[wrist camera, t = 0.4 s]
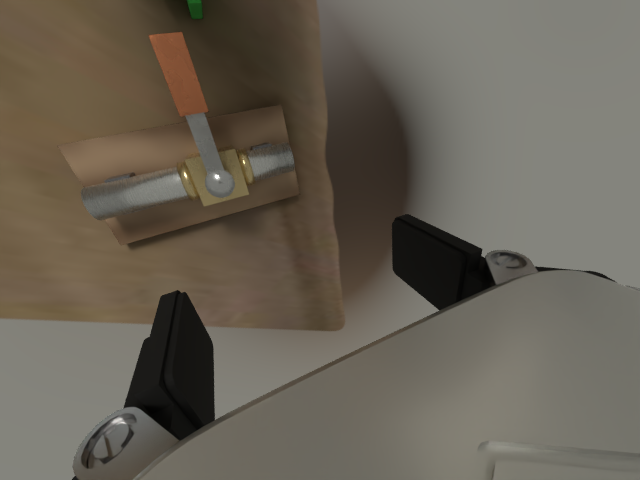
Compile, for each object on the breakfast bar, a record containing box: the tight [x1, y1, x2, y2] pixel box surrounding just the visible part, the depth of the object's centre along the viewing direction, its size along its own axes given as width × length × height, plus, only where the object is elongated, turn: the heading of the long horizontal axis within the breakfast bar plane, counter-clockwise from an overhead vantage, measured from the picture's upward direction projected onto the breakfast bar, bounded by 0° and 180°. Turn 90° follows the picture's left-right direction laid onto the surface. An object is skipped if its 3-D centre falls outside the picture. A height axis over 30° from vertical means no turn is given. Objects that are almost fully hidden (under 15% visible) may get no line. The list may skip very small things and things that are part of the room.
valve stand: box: [57, 105, 300, 245], centre depth 32 cm, size 12×24×2 cm, turn 100°
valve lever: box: [149, 32, 235, 198], centre depth 24 cm, size 13×3×3 cm, turn 10°
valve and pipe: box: [81, 142, 295, 220], centre depth 29 cm, size 5×22×5 cm, turn 100°
